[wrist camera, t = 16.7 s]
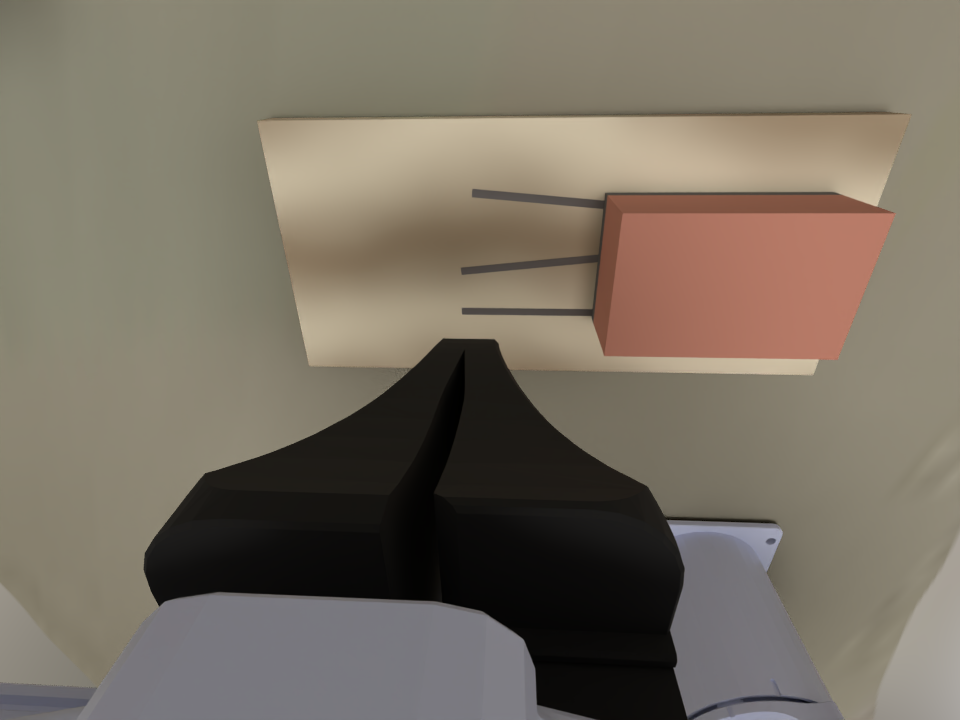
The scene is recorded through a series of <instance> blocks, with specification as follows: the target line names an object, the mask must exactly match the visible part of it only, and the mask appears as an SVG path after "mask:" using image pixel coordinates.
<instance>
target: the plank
mask: <svg viewBox="0 0 960 720" xmlns="http://www.w3.org/2000/svg"><path fill="white" fill-rule="evenodd" d="M911 115H912V114H902V113H891V112H855V113H754V114H652V115H550V116H448V117H347V118H270V119H264V120H258V121H257V123H258V127H259V132H260V137H261V142H262V146H263V151H264V156H265V160H266V165H267V170H268V174H269V179H270V184H271V189H272V193H273V198H274V203H275V207H276V212H277V217H278V222H279V226H280V231H281V236H282V240H283V245H284V250H285V254H286V259H287V264H288V269H289V273H290V278H291V283H292V287H293V292H294V297H295V301H296V306H297V311H298V316H299V320H300V325H301V330H302V334H303V339H304V344H305V348H306V353H307V358H308V363H309V366H322V367H379V368H413V367H414V366H416V365H417V364H418V363H419V362H420V361H421V360H422V359H423V358H424V357H425V356H426V355H427V354H428V353H429V352H430V351H431V350H432V348H433V347H434V346H435V345H436V344H438V343H439V342H440V341H441V340H442V339H443V338H450V339H495V340H496V341H497V342H498V343H499V348H500V351H501V354H502V356H503V359H504V361H505V363H506V365H507V367H508V369H509V370H551V371H608V372H665V373H723V374H780V375H813V374H814V372H815V369H816V366H817V364H818V361H819V359H757V358H691V357H624V356H604V354H603V351H602V348H601V345H600V342H599V339H598V336H597V333H596V330H595V327H594V324H593V321H592V310H593V300H594V291H595V282H596V273H597V264H598V255H599V245H600V236H601V227H602V218H603V209H604V199H605V193H626V192H836V193H839V194H842V195H844V196H847V197H850V198H853V199H856V200H859V201H862V202H864V203H867V204H870V205H873V206H876V207H877V205H878V202H879V200H880V197H881V194H882V192H883V189H884V186H885V184H886V181H887V179H888V176H889V173H890V171H891V168H892V165H893V163H894V160H895V157H896V155H897V152H898V149H899V147H900V144H901V142H902V139H903V136H904V134H905V131H906V128H907V126H908V123H909V120H910V118H911Z"/></svg>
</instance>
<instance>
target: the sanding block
mask: <svg viewBox="0 0 960 720" xmlns="http://www.w3.org/2000/svg"><path fill="white" fill-rule="evenodd" d="M895 214H896V213H893V212H890V211H887V210H885V209H882V208H879V207H876V206H873V205H870V204H867V203H864V202H862V201H859V200H856V199H853V198H850V197H847V196H844V195H842V194H839V193H836V192H626V193H605V199H604V209H603V218H602V227H601V236H600V245H599V255H598V264H597V273H596V282H595V291H594V300H593V310H592V321H593V324H594V327H595V330H596V333H597V336H598V339H599V342H600V345H601V348H602V351H603V354H604V356H624V357H691V358H757V359H823V360H838V357H839V355H840V352H841V350H842V347H843V345H844V342H845V339H846V337H847V334H848V332H849V329H850V327H851V324H852V322H853V319H854V317H855V314H856V312H857V309H858V307H859V304H860V302H861V299H862V297H863V294H864V292H865V289H866V287H867V284H868V282H869V279H870V277H871V274H872V272H873V269H874V267H875V264H876V262H877V259H878V257H879V254H880V252H881V249H882V247H883V244H884V242H885V239H886V237H887V234H888V232H889V229H890V226H891V224H892V221H893V219H894V216H895Z"/></svg>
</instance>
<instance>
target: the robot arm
mask: <svg viewBox="0 0 960 720" xmlns="http://www.w3.org/2000/svg"><path fill="white" fill-rule="evenodd" d="M782 535H783V532H782V530H781V528H780V527H779V525H777V524H772V523H742V522H711V521H681V520H666V519H665V517H664V515H663V513H662V511H661V509H660V507H659V506H658V504H657V502H656V500H655V498H654V497H653V495H652V493H651V491H650V490H649V488H648V487H647V486H645V485H644V484H642V483H640V482H638V481H636V480H634V479H632V478H630V477H628V476H626V475H624V474H622V473H620V472H618V471H616V470H614V469H612V468H611V467H609V466H607V465H605V464H604V463H602V462H600V461H599V460H597V459H596V458H594V457H593V456H591V455H589V454H588V453H586V452H585V451H583V450H582V449H581V448H579V447H578V446H576V445H575V444H574V443H572V442H571V441H570V440H569V439H567V438H566V437H565V436H564V435H562V434H561V433H560V432H559V431H558V430H556V429H555V428H554V427H553V426H552V425H551V424H550V423H549V422H548V421H547V420H546V419H545V418H544V417H543V416H542V415H541V414H540V412H539V411H538V410H537V409H536V408H535V407H534V405H533V404H532V403H531V402H530V400H529V399H528V398H527V396H526V395H525V394H524V392H523V391H522V390H521V388H520V387H519V385H518V384H517V382H516V381H515V379H514V377H513V376H512V374H511V372H510V371H509V369H508V367H507V365H506V363H505V361H504V359H503V356H502V354H501V351H500V348H499V343H498V342H497V341H496V340H495V339H450V338H443V339H442V340H441V341H440V342H439V343H438V344H436V345H435V346H434V347H433V348H432V350H431V351H430V352H429V353H428V354H427V355H426V356H425V357H424V358H423V359H422V360H421V361H420V362H419V363H418V364H417V365H416V366H414V367H413V368H412V369H411V370H410V371H409V372H408V373H407V374H406V375H405V376H404V377H403V378H401V379H400V380H399V381H398V382H397V383H395V384H394V385H393V386H392V387H391V388H389V389H388V390H387V391H386V392H384V393H383V394H382V395H380V396H379V397H378V398H376V399H375V400H373V401H372V402H371V403H369V404H368V405H366V406H364V407H363V408H361V409H360V410H358V411H357V412H355V413H353V414H352V415H350V416H348V417H347V418H345V419H343V420H341V421H339V422H337V423H335V424H333V425H331V426H330V427H328V428H326V429H324V430H322V431H320V432H318V433H316V434H314V435H312V436H310V437H308V438H305V439H303V440H301V441H298V442H296V443H294V444H291V445H289V446H286V447H284V448H281V449H279V450H276V451H274V452H271V453H268V454H266V455H263V456H260V457H257V458H254V459H251V460H248V461H244V462H241V463H238V464H235V465H232V466H229V467H225V468H222V469H219V470H216V471H212V472H208V473H205V474H204V475H203V476H202V478H201V479H200V480H199V481H198V482H197V484H196V485H195V486H194V487H193V489H192V490H191V491H190V492H189V494H188V495H187V496H186V498H185V499H184V500H183V501H182V503H181V504H180V505H179V507H178V508H177V509H176V510H175V512H174V513H173V514H172V516H171V517H170V518H169V519H168V521H167V522H166V523H165V525H164V526H163V527H162V529H161V530H160V531H159V532H158V534H157V535H156V536H155V538H154V539H153V541H152V542H151V544H150V546H149V547H148V549H147V551H146V552H145V558H144V572H145V575H146V578H147V581H148V584H149V587H150V590H151V592H152V594H153V596H154V598H155V599H156V601H157V603H158V605H159V607H158V608H157V609H156V610H155V611H154V612H153V613H152V614H151V615H150V616H149V617H148V618H146V619H145V620H144V621H143V622H142V624H141V625H140V627H139V628H138V629H137V631H136V632H135V634H134V635H133V637H132V638H131V640H130V641H129V643H128V644H127V646H126V647H125V649H124V650H123V652H122V653H121V655H120V656H119V657H118V659H117V660H116V662H115V663H114V665H113V666H112V668H111V669H110V671H109V672H108V674H107V675H106V677H105V678H104V680H103V681H102V683H101V684H100V686H99V687H98V688H92V687H91V688H90V687H73V686H55V685H54V686H53V685H36V684H18V683H17V684H16V683H0V720H845V719H844V718H843V716H842V714H841V712H840V710H839V709H838V707H837V705H836V703H835V702H833V700H832V698H831V696H830V694H829V693H828V691H827V689H826V687H825V685H824V683H823V681H822V679H821V677H820V675H819V673H818V671H817V669H816V667H815V666H814V664H813V662H812V660H811V658H810V656H809V654H808V652H807V650H806V648H805V646H804V644H803V642H802V640H801V639H800V637H799V635H798V633H797V631H796V629H795V627H794V625H793V623H792V621H791V619H790V617H789V615H788V613H787V611H786V610H785V608H784V606H783V604H782V602H781V600H780V598H779V596H778V594H777V592H776V590H775V588H774V586H773V584H772V583H771V581H770V579H769V577H768V575H767V570H768V568H769V566H770V563H771V561H772V559H773V556H774V554H775V551H776V549H777V547H778V544H779V542H780V540H781V537H782Z"/></svg>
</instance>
